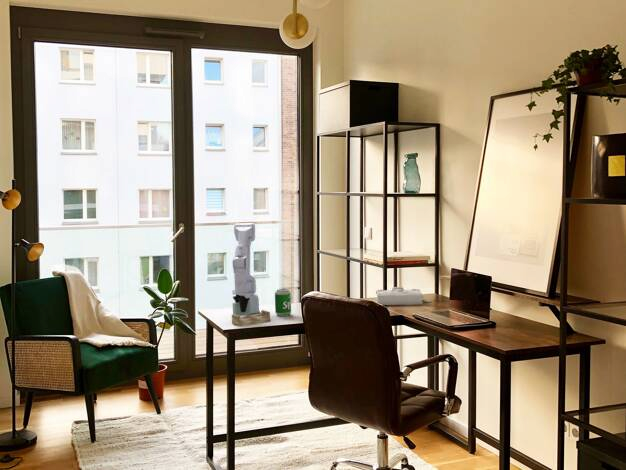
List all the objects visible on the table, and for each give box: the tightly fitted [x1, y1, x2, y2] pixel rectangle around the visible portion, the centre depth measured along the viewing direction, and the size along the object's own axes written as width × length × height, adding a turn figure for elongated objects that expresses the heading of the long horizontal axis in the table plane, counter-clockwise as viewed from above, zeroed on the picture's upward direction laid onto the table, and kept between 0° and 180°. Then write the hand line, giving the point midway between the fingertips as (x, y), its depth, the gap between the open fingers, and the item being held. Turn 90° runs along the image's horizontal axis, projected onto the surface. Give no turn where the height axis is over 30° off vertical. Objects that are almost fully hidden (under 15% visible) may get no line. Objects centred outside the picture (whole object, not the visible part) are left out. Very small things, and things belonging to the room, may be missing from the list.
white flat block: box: [375, 286, 432, 306], centre depth 362 cm, size 19×28×8 cm
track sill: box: [231, 309, 271, 327], centre depth 324 cm, size 16×6×4 cm, turn 123°
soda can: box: [274, 288, 292, 317], centre depth 338 cm, size 8×8×12 cm
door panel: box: [232, 301, 252, 317], centre depth 331 cm, size 8×3×6 cm, turn 122°
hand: (241, 311), depth 331 cm, fingers closed on door panel, 3 cm apart
